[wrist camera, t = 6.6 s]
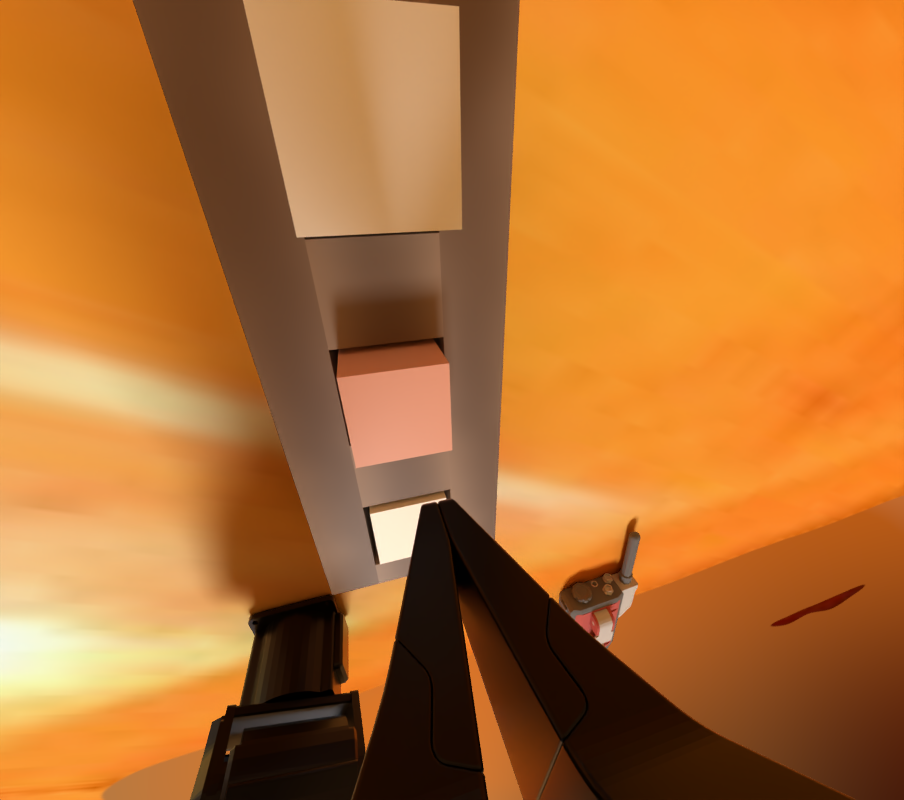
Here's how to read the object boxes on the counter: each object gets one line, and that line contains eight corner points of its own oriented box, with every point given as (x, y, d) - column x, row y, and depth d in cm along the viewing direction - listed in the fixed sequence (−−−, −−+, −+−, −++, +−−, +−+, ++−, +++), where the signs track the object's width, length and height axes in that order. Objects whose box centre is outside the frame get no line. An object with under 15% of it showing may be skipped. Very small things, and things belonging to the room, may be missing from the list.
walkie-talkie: (612, 621, 46) (635, 520, 36) (635, 657, 43) (668, 555, 33) (552, 643, 45) (559, 544, 35) (571, 682, 41) (584, 584, 31)
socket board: (335, 517, 25) (332, 595, 20) (205, 47, 13) (113, -59, 8) (466, 489, 27) (494, 553, 22) (461, 61, 15) (520, -15, 10)
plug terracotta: (353, 400, 19) (355, 468, 14) (339, 328, 17) (336, 378, 12) (426, 389, 20) (452, 450, 15) (421, 320, 18) (449, 363, 13)
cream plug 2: (373, 493, 24) (380, 564, 20) (365, 447, 22) (370, 514, 18) (429, 481, 25) (448, 547, 20) (425, 437, 23) (446, 497, 18)
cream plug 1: (316, 226, 13) (296, 237, 8) (288, 86, 11) (239, -14, 6) (421, 222, 14) (462, 229, 9) (413, 90, 12) (459, 6, 7)
